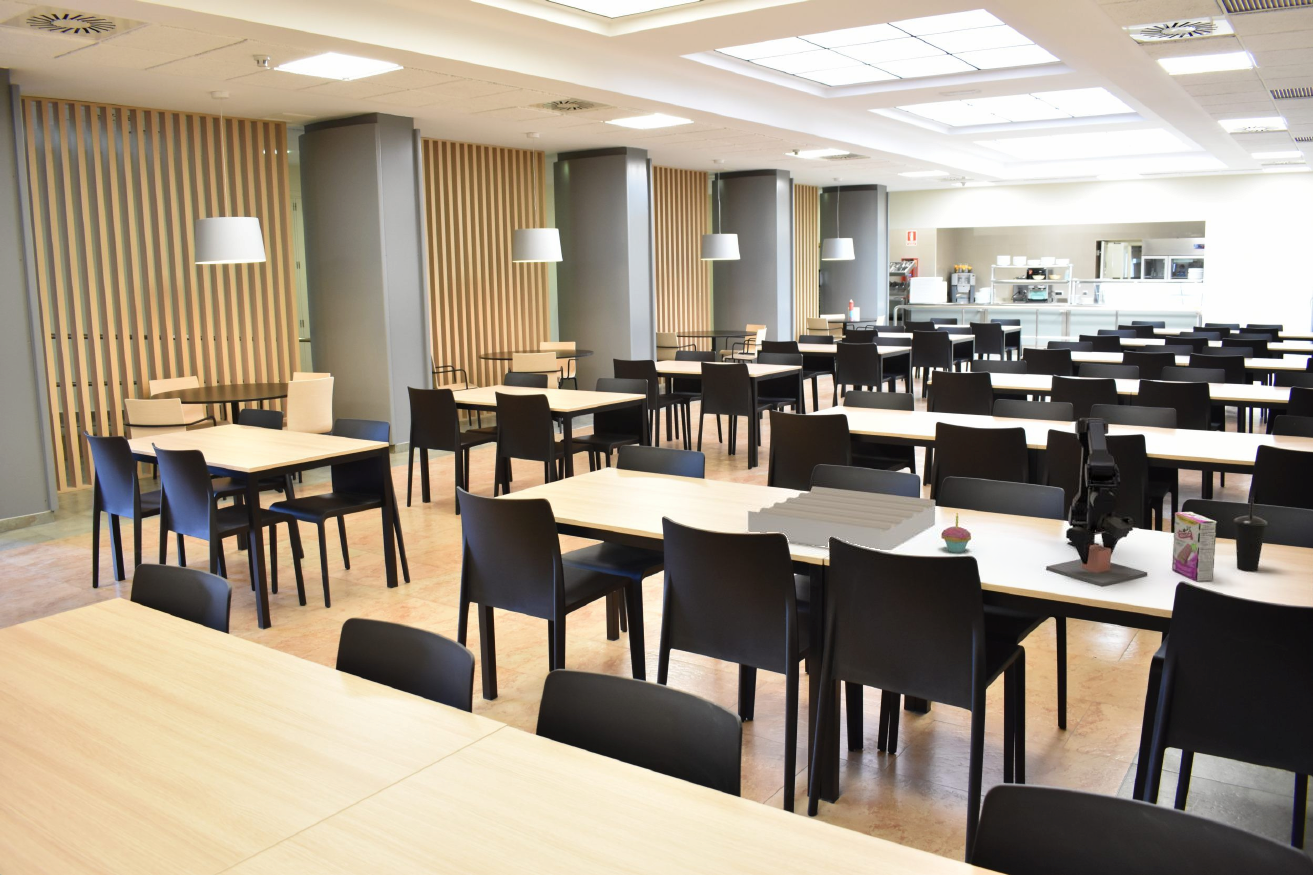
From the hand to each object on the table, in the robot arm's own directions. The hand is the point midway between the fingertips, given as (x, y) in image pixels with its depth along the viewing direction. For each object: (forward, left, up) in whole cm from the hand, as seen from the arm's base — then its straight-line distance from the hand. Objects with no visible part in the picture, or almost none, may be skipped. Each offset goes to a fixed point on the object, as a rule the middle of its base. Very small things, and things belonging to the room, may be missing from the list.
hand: (1096, 561), depth 266 cm
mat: (0, 0, -3) cm, 3 cm away
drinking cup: (-37, +19, -3) cm, 42 cm away
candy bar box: (-19, +15, -3) cm, 24 cm away
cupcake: (+15, -37, -3) cm, 40 cm away
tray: (+28, -74, -4) cm, 79 cm away
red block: (0, 0, -2) cm, 2 cm away
